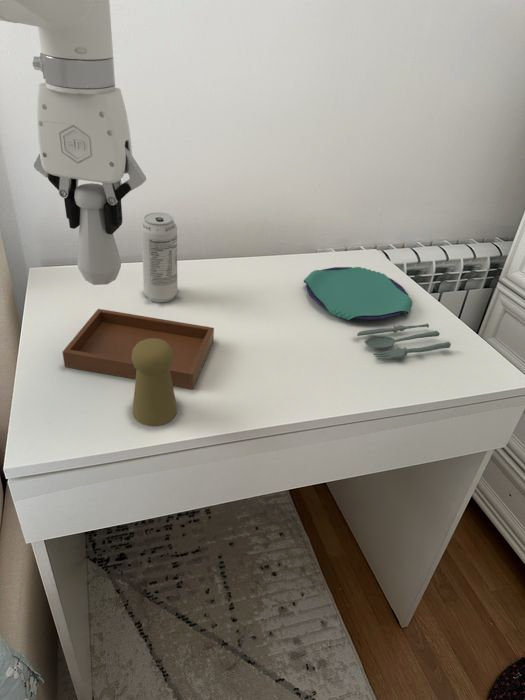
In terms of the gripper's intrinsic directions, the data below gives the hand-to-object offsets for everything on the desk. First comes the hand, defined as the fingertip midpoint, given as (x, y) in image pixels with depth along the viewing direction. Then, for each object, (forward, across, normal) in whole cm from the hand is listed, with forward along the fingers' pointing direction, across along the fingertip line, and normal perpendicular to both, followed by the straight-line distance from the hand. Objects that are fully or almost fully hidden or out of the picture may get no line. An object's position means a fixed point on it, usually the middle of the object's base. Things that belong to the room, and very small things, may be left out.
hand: (95, 226), depth 70 cm
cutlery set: (+21, +40, +26) cm, 52 cm away
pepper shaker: (+21, +11, -10) cm, 26 cm away
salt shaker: (+8, 0, 0) cm, 8 cm away
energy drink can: (+21, +2, +20) cm, 29 cm away
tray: (+21, +5, +2) cm, 22 cm away
